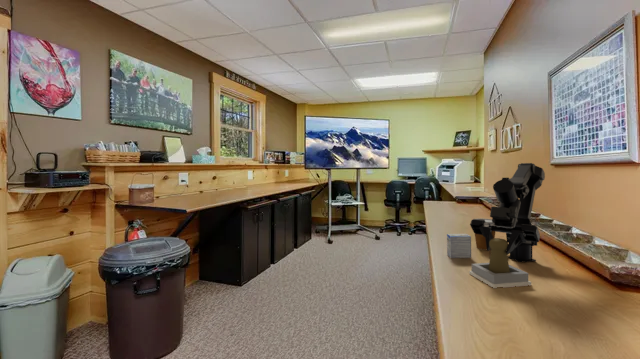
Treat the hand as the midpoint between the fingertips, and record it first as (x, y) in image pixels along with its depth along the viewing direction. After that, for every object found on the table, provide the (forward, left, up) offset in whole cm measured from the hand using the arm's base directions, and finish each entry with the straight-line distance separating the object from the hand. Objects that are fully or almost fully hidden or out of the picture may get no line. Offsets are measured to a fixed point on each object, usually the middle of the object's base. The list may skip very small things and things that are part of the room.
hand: (497, 252), depth 94 cm
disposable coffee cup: (-19, -34, -9) cm, 40 cm away
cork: (-1, -1, -7) cm, 7 cm away
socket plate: (-1, -1, -9) cm, 9 cm away
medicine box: (-2, -25, -9) cm, 26 cm away
